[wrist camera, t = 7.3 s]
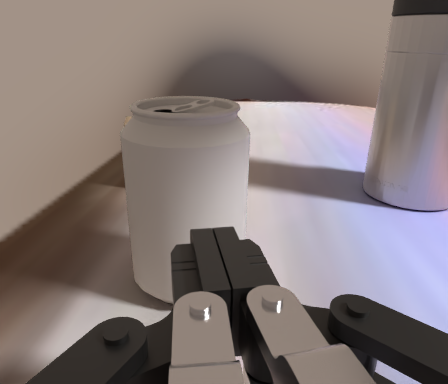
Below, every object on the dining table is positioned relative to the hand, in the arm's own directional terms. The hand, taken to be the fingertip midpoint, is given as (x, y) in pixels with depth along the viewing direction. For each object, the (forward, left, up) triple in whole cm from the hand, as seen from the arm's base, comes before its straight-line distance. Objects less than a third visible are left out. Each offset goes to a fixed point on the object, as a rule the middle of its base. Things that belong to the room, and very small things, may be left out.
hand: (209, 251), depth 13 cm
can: (-4, -9, -9) cm, 14 cm away
